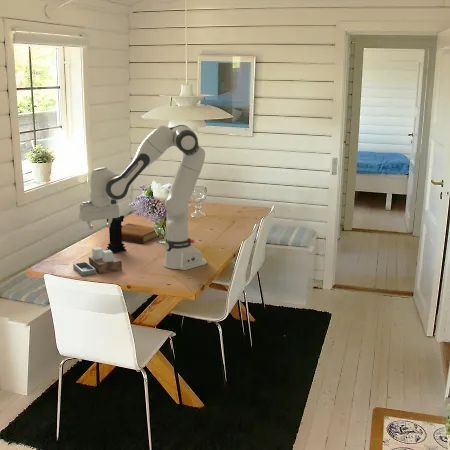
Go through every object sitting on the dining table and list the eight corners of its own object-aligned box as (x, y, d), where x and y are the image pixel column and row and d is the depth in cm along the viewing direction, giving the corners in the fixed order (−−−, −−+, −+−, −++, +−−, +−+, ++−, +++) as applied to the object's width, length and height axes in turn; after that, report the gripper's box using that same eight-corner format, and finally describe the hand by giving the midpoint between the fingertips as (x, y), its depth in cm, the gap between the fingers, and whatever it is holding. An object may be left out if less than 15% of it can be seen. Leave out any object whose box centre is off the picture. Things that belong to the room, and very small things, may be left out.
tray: (86, 266, 302) (86, 261, 302) (96, 274, 291) (96, 269, 290) (73, 268, 299) (73, 263, 298) (82, 276, 287) (82, 271, 287)
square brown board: (111, 262, 308) (110, 253, 307) (121, 270, 297) (121, 260, 296) (89, 266, 302) (88, 257, 301) (99, 274, 291) (98, 264, 289)
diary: (110, 239, 351) (110, 230, 349) (128, 232, 367) (127, 223, 366) (143, 244, 341) (142, 235, 340) (160, 236, 358) (159, 227, 356)
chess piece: (126, 250, 328) (125, 215, 323) (114, 253, 323) (113, 218, 317) (117, 247, 334) (116, 213, 328) (106, 250, 328) (104, 215, 323)
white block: (100, 256, 302) (99, 246, 301) (102, 258, 299) (102, 248, 298) (92, 257, 300) (92, 248, 299) (95, 259, 297) (94, 250, 296)
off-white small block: (109, 259, 298) (109, 249, 297) (112, 261, 295) (112, 251, 293) (102, 260, 296) (101, 250, 295) (105, 262, 293) (104, 252, 291)
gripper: (82, 203, 278) (82, 232, 281) (121, 200, 291) (120, 227, 294) (76, 201, 283) (76, 229, 286) (114, 197, 296) (114, 224, 299)
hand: (99, 228), depth 290 cm, fingers open, 8 cm apart
